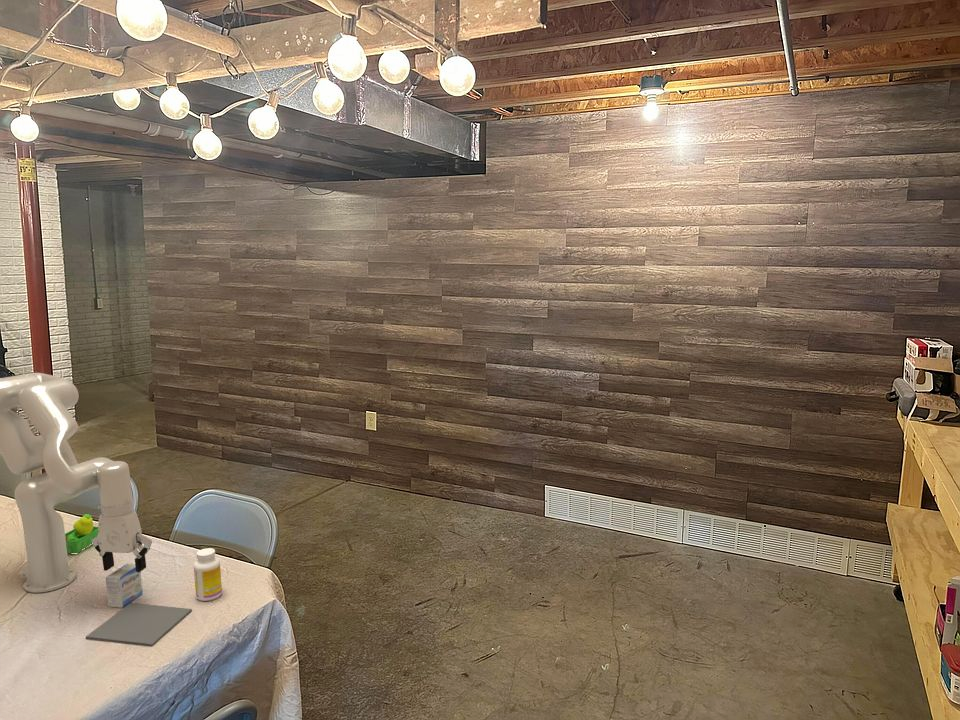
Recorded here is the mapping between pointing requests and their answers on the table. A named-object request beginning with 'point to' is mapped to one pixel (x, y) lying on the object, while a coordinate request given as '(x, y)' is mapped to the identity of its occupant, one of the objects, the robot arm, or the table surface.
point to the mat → (139, 624)
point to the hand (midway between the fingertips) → (125, 569)
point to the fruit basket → (81, 534)
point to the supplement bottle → (207, 575)
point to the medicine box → (123, 586)
